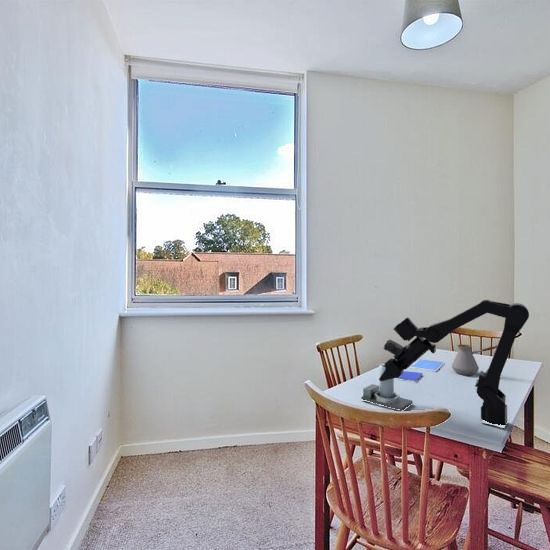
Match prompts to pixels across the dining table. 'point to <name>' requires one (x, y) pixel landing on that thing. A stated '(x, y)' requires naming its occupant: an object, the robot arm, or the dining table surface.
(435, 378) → the dining table surface
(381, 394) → the grey capped canister
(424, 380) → the dining table surface
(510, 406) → the dining table surface
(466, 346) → the coffee pot
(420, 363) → the tablet computer
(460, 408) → the dining table surface
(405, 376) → the hard drive
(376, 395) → the motor mount
